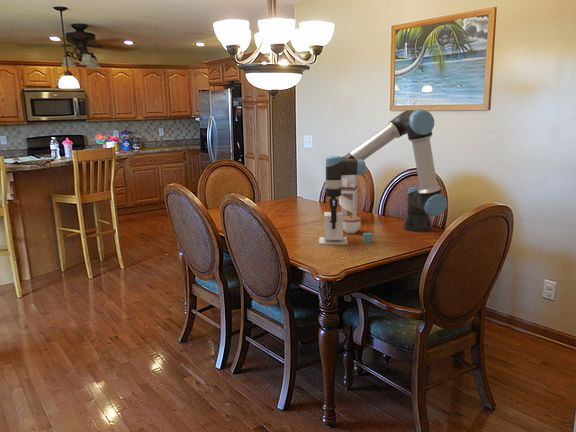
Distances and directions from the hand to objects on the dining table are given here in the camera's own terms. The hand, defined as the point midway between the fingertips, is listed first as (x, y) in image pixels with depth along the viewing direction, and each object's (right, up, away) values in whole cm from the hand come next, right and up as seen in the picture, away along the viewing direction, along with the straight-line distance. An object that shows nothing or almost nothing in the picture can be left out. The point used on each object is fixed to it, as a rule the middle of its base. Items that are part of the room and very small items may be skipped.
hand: (333, 232), depth 234 cm
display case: (+12, +5, +43) cm, 45 cm away
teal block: (+17, -4, 0) cm, 18 cm away
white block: (0, -2, +1) cm, 2 cm away
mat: (0, -4, +1) cm, 4 cm away
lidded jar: (+11, -1, +19) cm, 22 cm away
